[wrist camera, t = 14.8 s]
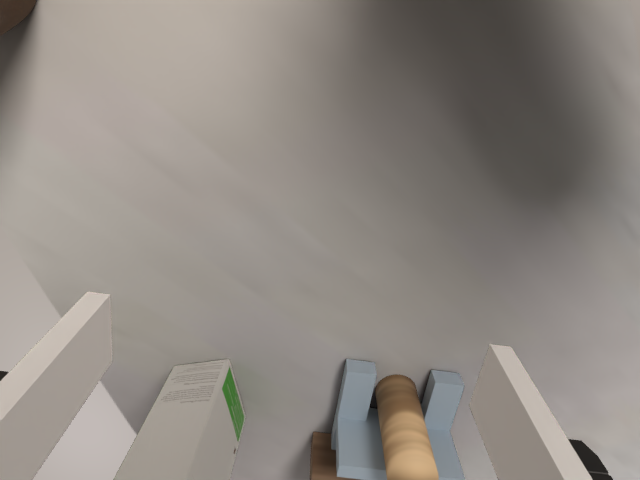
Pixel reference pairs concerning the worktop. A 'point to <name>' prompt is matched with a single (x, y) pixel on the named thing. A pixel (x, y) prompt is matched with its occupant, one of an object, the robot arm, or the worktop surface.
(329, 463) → the board
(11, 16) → the plant pot
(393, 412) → the dowel
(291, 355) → the worktop surface
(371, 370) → the fork block
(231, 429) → the skincare box
